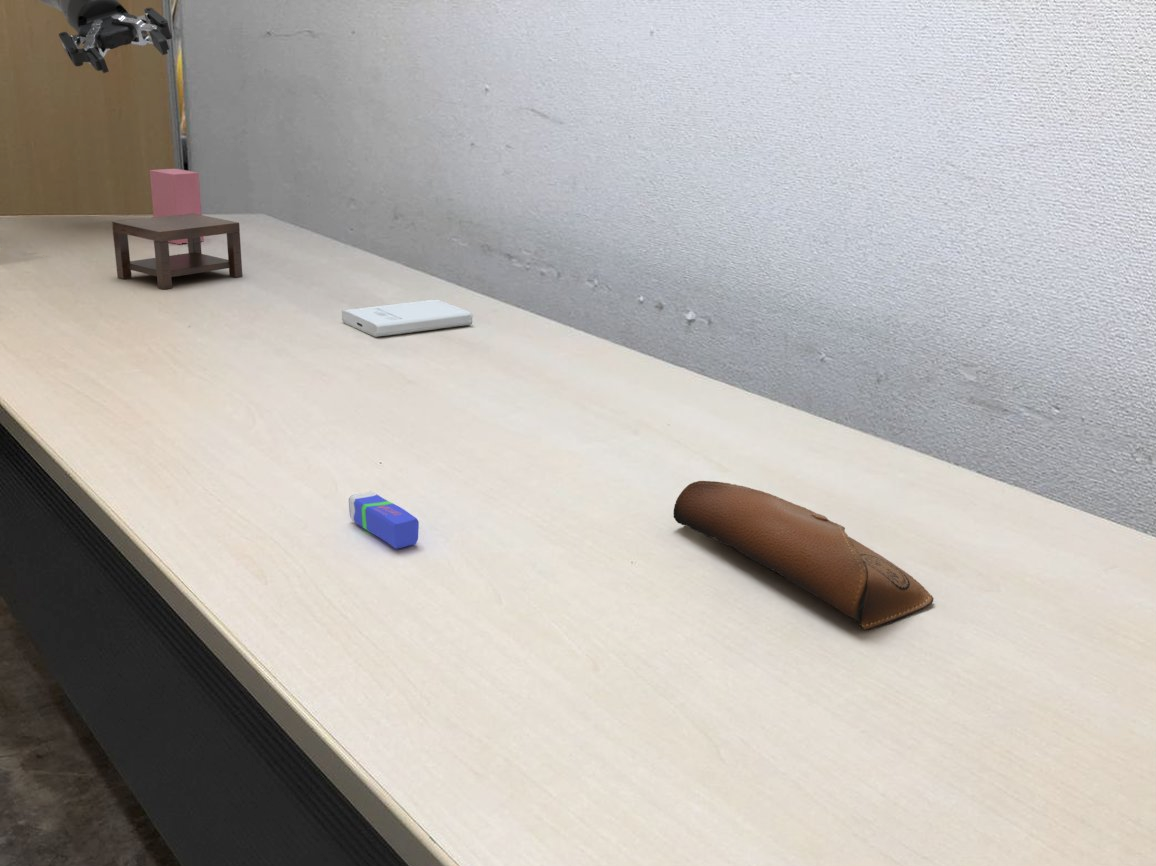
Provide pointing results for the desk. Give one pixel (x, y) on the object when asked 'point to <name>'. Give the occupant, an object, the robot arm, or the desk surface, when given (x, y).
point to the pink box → (175, 194)
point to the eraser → (384, 519)
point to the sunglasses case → (803, 550)
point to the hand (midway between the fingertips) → (134, 57)
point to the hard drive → (406, 317)
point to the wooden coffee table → (175, 230)
